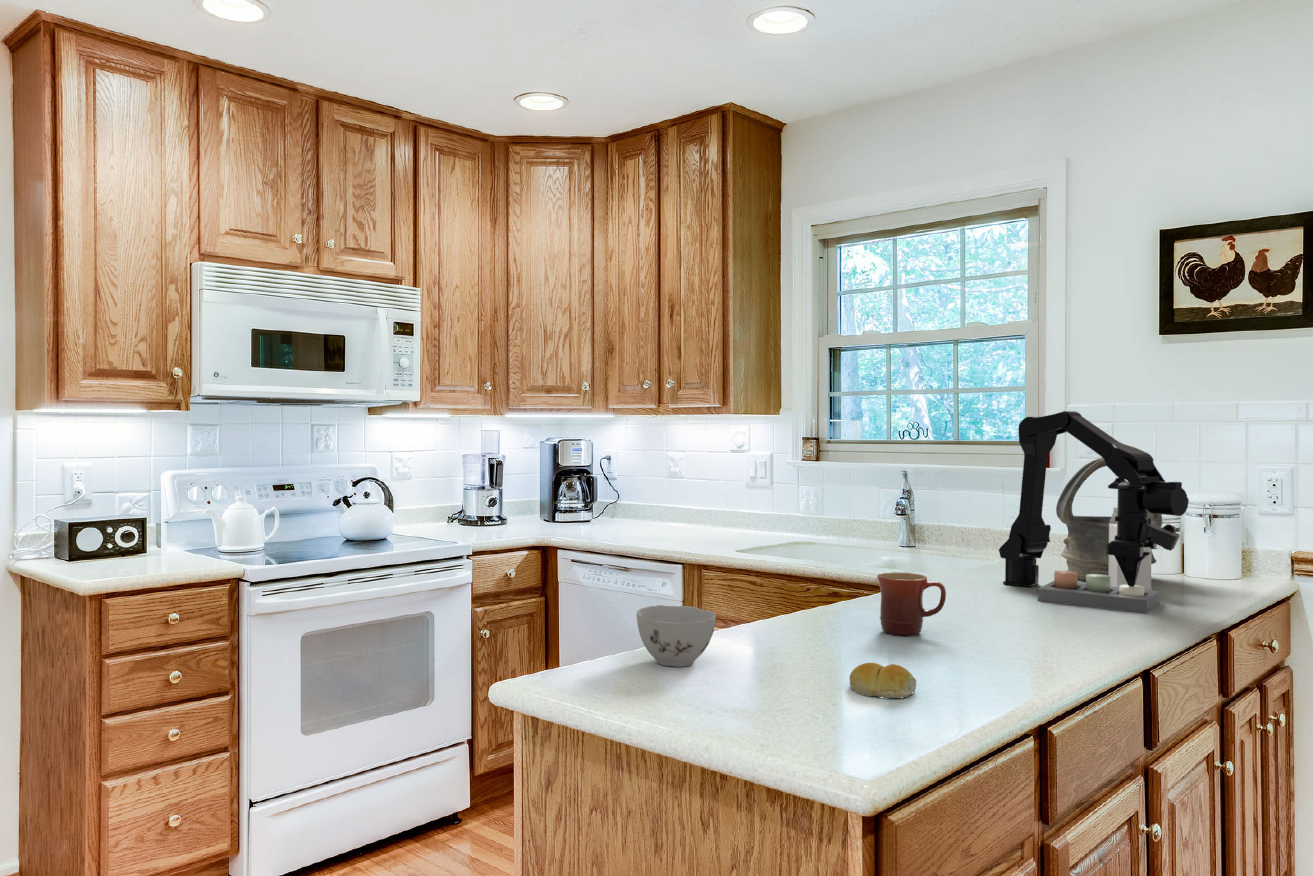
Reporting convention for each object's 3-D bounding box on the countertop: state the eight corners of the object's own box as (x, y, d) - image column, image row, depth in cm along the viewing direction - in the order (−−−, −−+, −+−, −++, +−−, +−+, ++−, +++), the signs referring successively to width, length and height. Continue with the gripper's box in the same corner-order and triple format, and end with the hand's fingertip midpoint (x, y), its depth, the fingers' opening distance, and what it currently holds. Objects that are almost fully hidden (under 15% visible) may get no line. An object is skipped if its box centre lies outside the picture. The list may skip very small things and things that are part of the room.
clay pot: (1158, 589, 213) (1160, 459, 213) (1050, 579, 226) (1051, 457, 225) (1163, 576, 232) (1165, 457, 232) (1063, 568, 244) (1065, 454, 244)
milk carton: (1151, 594, 206) (1152, 509, 206) (1116, 593, 208) (1118, 508, 207) (1141, 589, 213) (1142, 506, 213) (1108, 587, 215) (1109, 506, 214)
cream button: (1117, 601, 193) (1117, 586, 193) (1121, 597, 196) (1122, 583, 196) (1141, 603, 190) (1141, 589, 190) (1145, 600, 193) (1146, 586, 193)
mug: (874, 635, 164) (874, 578, 164) (878, 625, 172) (879, 571, 172) (944, 641, 160) (945, 582, 160) (946, 630, 168) (946, 574, 168)
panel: (1037, 600, 198) (1038, 588, 198) (1054, 592, 209) (1054, 580, 209) (1146, 613, 185) (1147, 600, 185) (1158, 603, 196) (1158, 591, 196)
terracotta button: (1051, 586, 201) (1051, 572, 200) (1057, 583, 204) (1057, 570, 204) (1074, 589, 198) (1074, 575, 198) (1079, 586, 201) (1079, 572, 201)
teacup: (698, 677, 137) (698, 623, 136) (622, 667, 142) (622, 615, 141) (731, 654, 150) (732, 605, 150) (661, 646, 155) (661, 599, 155)
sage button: (1083, 590, 197) (1083, 576, 196) (1089, 587, 200) (1089, 573, 200) (1107, 592, 194) (1107, 578, 194) (1112, 589, 197) (1112, 575, 197)
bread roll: (860, 680, 136) (860, 653, 136) (920, 690, 131) (921, 662, 131) (839, 694, 129) (839, 665, 129) (902, 704, 124) (902, 675, 124)
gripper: (1168, 517, 180) (1167, 597, 181) (1183, 511, 195) (1182, 584, 195) (1106, 514, 187) (1105, 590, 188) (1125, 507, 202) (1124, 578, 202)
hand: (1131, 586), depth 193 cm, fingers closed
